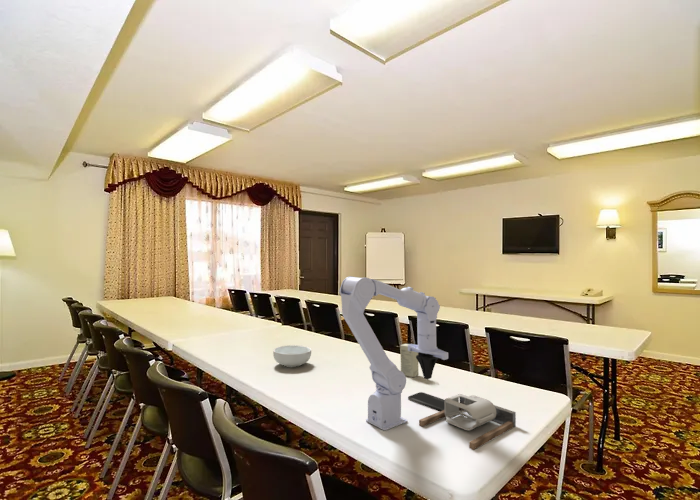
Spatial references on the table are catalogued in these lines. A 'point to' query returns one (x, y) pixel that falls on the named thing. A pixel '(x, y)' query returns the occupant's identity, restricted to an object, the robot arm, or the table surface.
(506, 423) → the rail channel
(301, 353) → the cereal bowl
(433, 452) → the table surface
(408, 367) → the skincare box
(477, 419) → the cable organizer
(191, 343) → the table surface
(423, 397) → the phone
